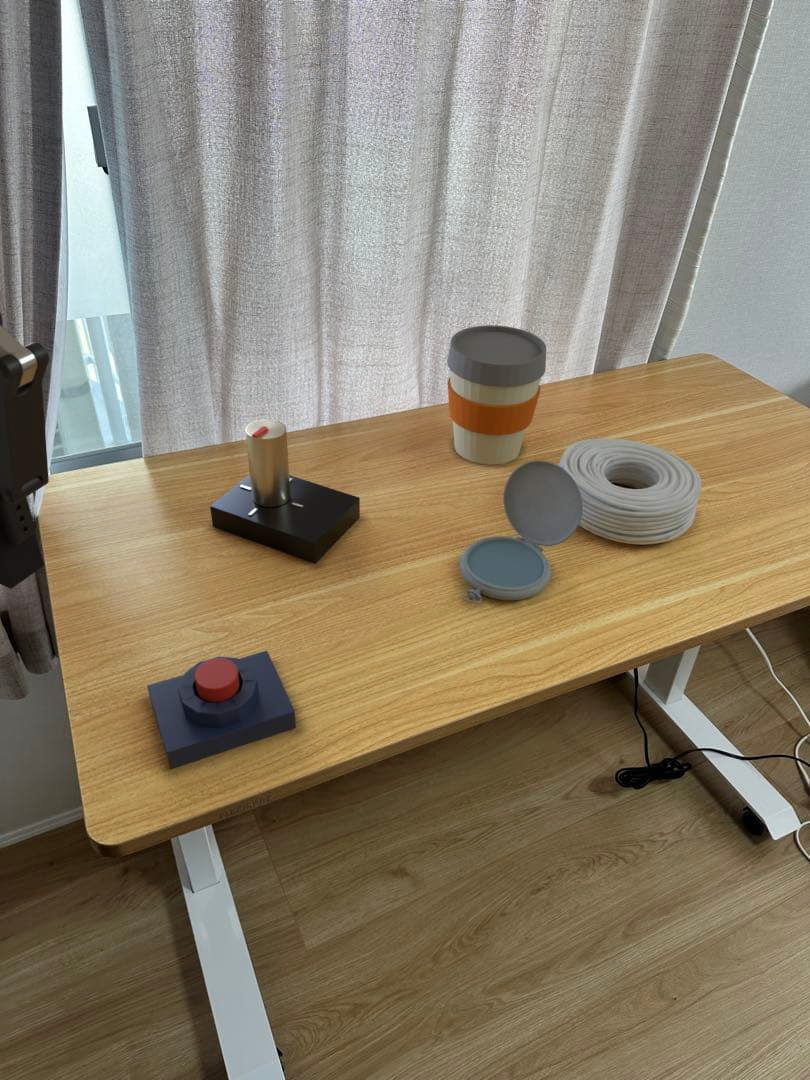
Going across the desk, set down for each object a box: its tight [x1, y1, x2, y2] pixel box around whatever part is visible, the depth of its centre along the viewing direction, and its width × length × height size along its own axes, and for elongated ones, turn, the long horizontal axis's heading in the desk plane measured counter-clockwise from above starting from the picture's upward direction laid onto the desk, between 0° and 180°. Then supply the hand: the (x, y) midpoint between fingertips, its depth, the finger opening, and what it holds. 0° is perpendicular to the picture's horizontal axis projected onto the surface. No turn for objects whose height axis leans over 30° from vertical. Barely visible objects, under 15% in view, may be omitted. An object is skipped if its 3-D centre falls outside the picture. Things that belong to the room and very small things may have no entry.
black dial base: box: [209, 474, 361, 565], centre depth 94 cm, size 14×10×3 cm
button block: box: [146, 650, 297, 770], centre depth 71 cm, size 11×8×4 cm
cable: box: [558, 437, 702, 545], centre depth 98 cm, size 18×18×6 cm
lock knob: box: [245, 418, 290, 507], centre depth 91 cm, size 4×4×9 cm
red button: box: [195, 657, 240, 703], centre depth 69 cm, size 4×4×2 cm
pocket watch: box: [458, 459, 583, 604], centre depth 86 cm, size 10×11×15 cm
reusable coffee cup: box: [446, 324, 547, 466], centre depth 106 cm, size 13×13×15 cm
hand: (19, 573), depth 52 cm, fingers closed
